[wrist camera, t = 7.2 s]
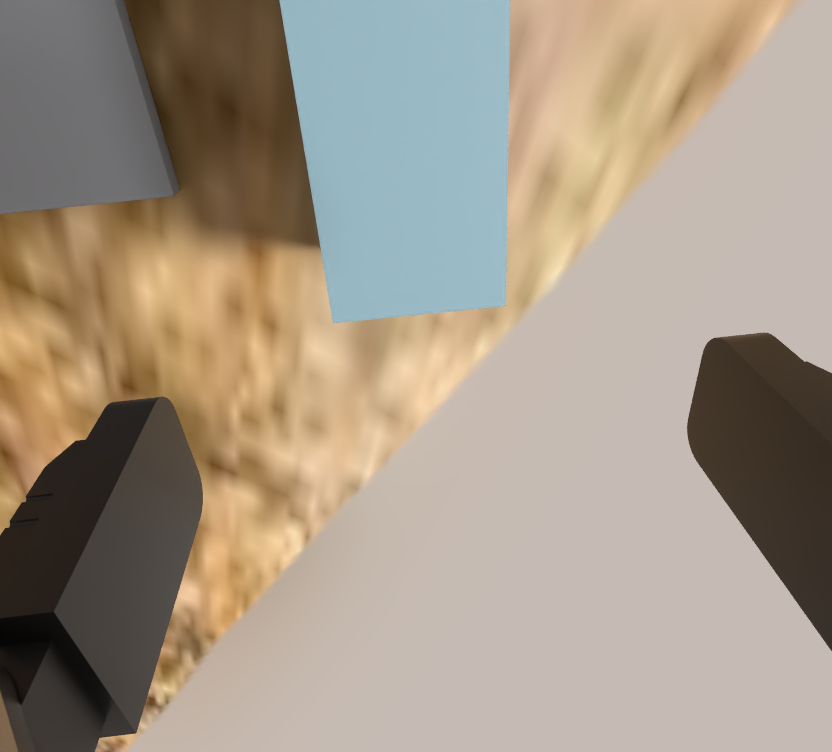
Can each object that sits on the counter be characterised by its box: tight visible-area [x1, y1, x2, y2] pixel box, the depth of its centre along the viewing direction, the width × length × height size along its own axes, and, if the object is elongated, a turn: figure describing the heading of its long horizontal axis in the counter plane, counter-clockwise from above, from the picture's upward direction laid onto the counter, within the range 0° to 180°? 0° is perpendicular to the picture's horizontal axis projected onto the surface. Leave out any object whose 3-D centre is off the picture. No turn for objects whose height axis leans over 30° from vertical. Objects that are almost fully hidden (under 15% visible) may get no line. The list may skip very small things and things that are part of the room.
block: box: [279, 0, 510, 323], centre depth 16 cm, size 12×5×6 cm, turn 4°
